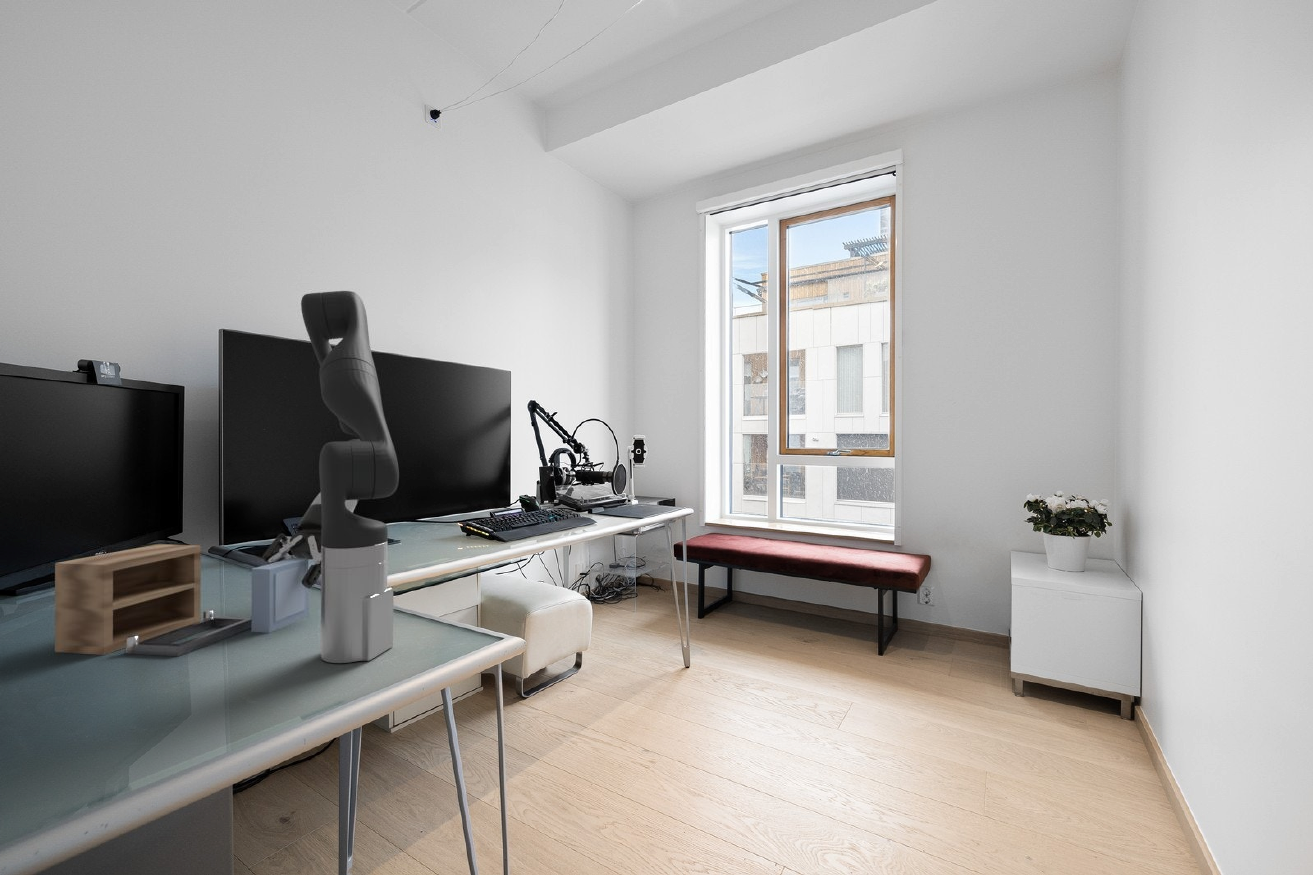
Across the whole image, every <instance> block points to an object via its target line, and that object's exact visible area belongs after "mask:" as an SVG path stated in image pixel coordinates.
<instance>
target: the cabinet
mask: <svg viewBox="0 0 1313 875" xmlns="http://www.w3.org/2000/svg"><path fill="white" fill-rule="evenodd" d="M201 548H202V547H201V545H197V544H196V545H195V544H194V545H193V544H166V543H165V544H162V543H158V544H157V543H156V544H152V545H146V546H141V547H136V548H131V549H124V550H120V551H115V552H114V551H113V552H108V553H103V554H98V555H93V556H88V557H82V558H75V559H71V560H66V561H60V562H55V563H54V584H55V585H54V595H55V596H54V611H55V612H54V653H64V654H65V653H66V654H67V653H69V654H83V655H99V656H100V655H101V656H103V655H104V656H105V655H108V654H111V653H114V652H117V651H119V650H122V649H126V637H128V636H131V635H138V642H141V641H144V640H147V639H150V638H153V637H156V636H159V635H162V634H164V633H167V632H170V631H173V630H176V629H179V628H182V627H185V626H188V625H191V624H193V623H196V622H199V621H201V601H202V600H201V599H202V598H201V596H202V595H201V592H202V591H201V590H202V589H201V586H202V584H201V576H202V574H201V568H202V567H201V566H202V562H201V560H202V558H201V555H202V554H201V552H202V551H201V550H202V549H201Z"/></svg>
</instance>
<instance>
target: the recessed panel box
mask: <svg viewBox="0 0 1313 875" xmlns="http://www.w3.org/2000/svg"><path fill="white" fill-rule="evenodd" d="M281 560H282V559H281ZM281 560H280V561H279V560H278V561H279V562H275V563H271V564H264V565H261V566H257V567H253V568H251V618H252V628H251V632H252V633H268V634H269V633H272V632H274V631H277V630H279V629H282V628H285V627H286V626H288V625H289V626H290V625H291V624H294V623H296V622H298V621H301V620H303V619H305V618H308V617H309V588H306V587H305V586H304V585H303V584H302V580H303V578H304V576H305V575H306V573H307V571H308V570H309V559H308V558H290V559H286V560H282V561H281Z"/></svg>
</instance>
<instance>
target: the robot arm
mask: <svg viewBox="0 0 1313 875" xmlns="http://www.w3.org/2000/svg"><path fill="white" fill-rule="evenodd" d="M300 307H301V308H300V309H301V315H302V320H303V323H304V326H305V329H306V332H307V336H308V337H309V340H310V343H311V345H312V348H313V351H314V354H315V356H316V359H317V360H318V363H319V372H318V375H319V376H318V377H319V384H320V393H321V394H320V395H321V398H322V401H323V402H324V404H325V405H326V407H327V408H328V410H329V411H330V412H332V414H333V415H334V416H336V418H337V419H338V423H339V427H340V429H341V430H342V432H343V433H345V434H347V435H349V436H353V437H356V438H352V439H349V440H348V441H347V440H346V441H341V440H340V441H329V442H327V443H325V444H324V445H323V447H321V448H322V449H321V450H320V454H319V460H318V461H319V463H318V466H319V467H318V472H319V473H318V474H319V475H318V476H319V488H320V489H319V490H320V492H319V493H318V495H317V496H316V497H315V498H314V499H313V501H312V502H311V504H310V505H309V507H308V509H307V510H306V512H305V513H304V515H303V516H302V518H301V520H299V522H298V527H297V531H296V533H295V534H293V535H292V536H286V535H285V533H282V532H281V533H279V534H277V536H276V537H275V539H274V540H273V541H272V542H271V544H270V545H269V547H268V548H267V549H266V551H265V552H264V553H263V555H262V556H261V560H262V561H264V562H265V563H266V565H268V564H271V563H275V562H279V560H280V561H282V560H286V559H290V558H308V560H313V564H311V565H310V567H308V571H307V573H306V575H305V576H304V578H303V580H302V584H303V585H304V586H305V587H306V588H308V589H311V588H312V587H313V586H315V584H316V583H317V581H318V580H319V578H320V658H321V660H322V661H324V662H326V663H331V664H346V663H353V662H359V661H371V660H373V659H374V658H376V657H378V656H379V655H381V654H383V653H384V652H386V651H387V650H390V649H391V648H392V647H394V588H392V587H388V545H389V544H388V537H389V536H388V532H389V531H388V526H387V524H386V523H384V522H383V521H381V520H380V521H379V520H376V519H372V518H367V517H364V516H361V515H358V514H355V513H354V510H355V509H356V506H357V504H358V502H359V500H374V499H382V498H383V499H384V498H387V497H390V496H392V495H393V494H395V492H396V491H397V489H398V487H399V481H400V480H399V479H400V472H399V471H400V470H399V462H398V457H397V453H396V450H395V446H394V443H393V441H392V437H391V434H390V431H389V428H388V427H389V426H388V424H387V421H386V418H385V413H384V408H383V402H382V396H381V388H380V383H379V378H378V374H377V370H376V366H375V362H374V359H373V356H372V355H373V354H372V351H371V344H370V335H369V327H368V326H369V325H368V317H367V311H366V307H365V304H364V301H363V300H362V298H361V296H360V295H359V294H358V293H357V292H355V291H351V290H350V291H349V290H339V291H338V290H336V291H324V292H323V291H322V292H321V291H320V292H310V293H305V294H304V295H302V297H301V302H300ZM337 339H341V340H340V341H339V342H338V343H337V344H336V345H335V346H334V347H333V348H332V346H331V343H330V340H337ZM289 551H290V553H291V555H290V554H289ZM282 558H283V559H282Z"/></svg>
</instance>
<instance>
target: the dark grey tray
mask: <svg viewBox="0 0 1313 875" xmlns="http://www.w3.org/2000/svg"><path fill="white" fill-rule="evenodd" d="M215 627H216V628H217V627H218V629H215V630H212V631H210V632H208V633H205V634H203V635H202V634H201V635H199V636H197V637H194V638H192V639H189V640H186V641H184V642H181V643H173V642H175V641H176V642H177V641H178V640H182V639H185V638H187V637H190V636H192V635H195V634H199V633H201V632H203V631H206V630H208V629H211V628H215ZM219 627H220V628H219ZM250 629H252V617H241V616H225V615H224V616H221V615H220V616H218V615H215V616H214V610H213V609H208V610H204V611H203V620H200V621H199V622H196V623H193V624H191V625H188V626H185V627H182V628H179V629H176V630H173V631H170V632H167V633H164V634H162V635H159V636H156V637H153V638H150V639H147V640H144V641H141V642H138V635H131V636H128V637H126V648H125V651H126V655H131V654H133V655H147V656H148V655H149V656H167V657H169V656H170V657H180V656H183V655H186V654H188V653H190V652H193V651H195V650H198V649H200V648H203V647H205V646H209V645H211V644H213V643H216V642H219V641H222V640H224V639H226V638H228V637H231V636H234V635H236V634H239V633H242V632H244V631H246V630H250Z"/></svg>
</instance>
